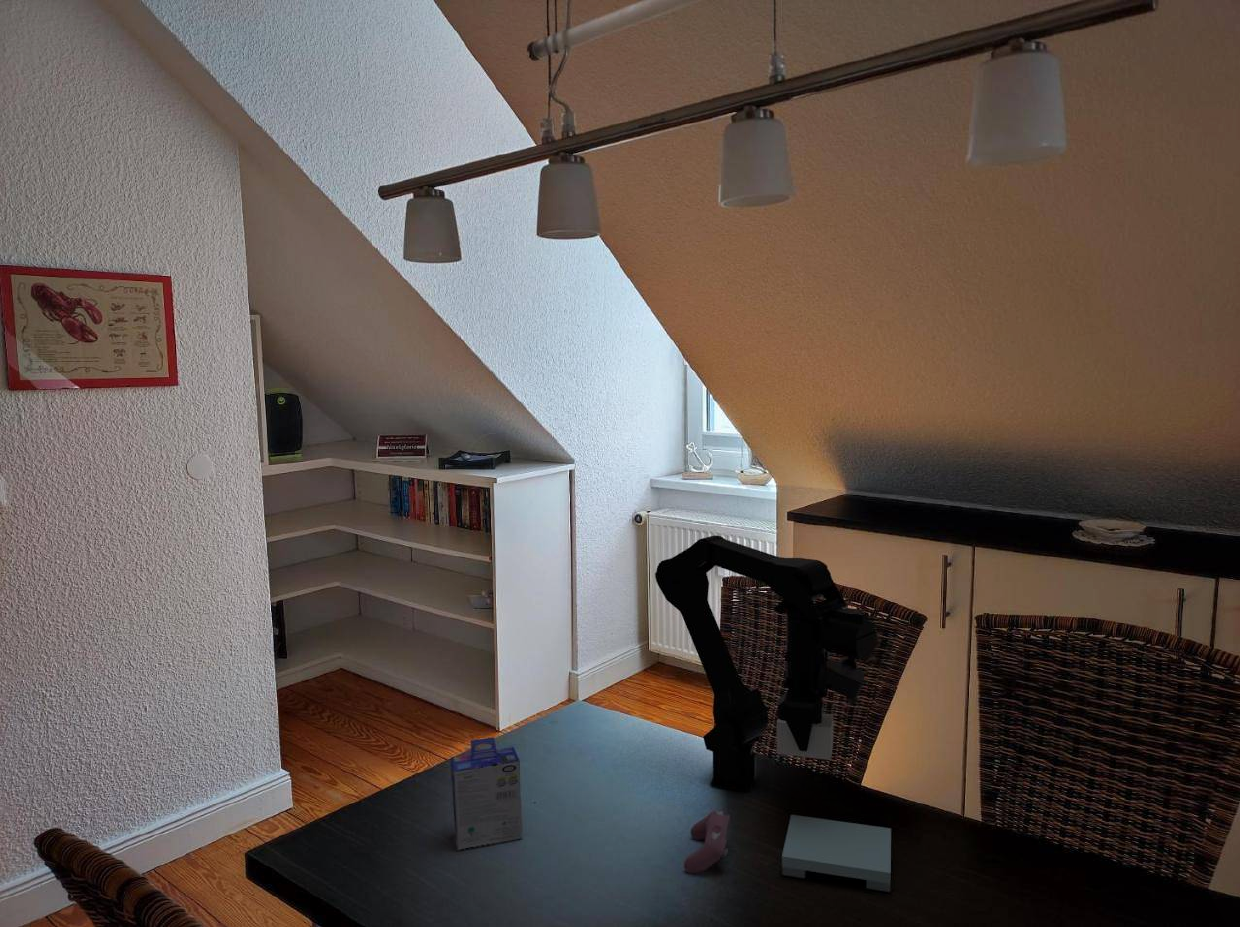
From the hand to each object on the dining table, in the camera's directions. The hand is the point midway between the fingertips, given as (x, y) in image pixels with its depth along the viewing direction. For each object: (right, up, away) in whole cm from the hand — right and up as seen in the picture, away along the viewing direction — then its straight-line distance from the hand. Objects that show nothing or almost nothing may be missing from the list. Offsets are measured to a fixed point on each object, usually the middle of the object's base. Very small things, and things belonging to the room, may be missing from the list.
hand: (804, 743), depth 132 cm
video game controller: (-16, -13, -10) cm, 23 cm away
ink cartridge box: (-48, -13, -4) cm, 50 cm away
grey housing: (0, -1, 0) cm, 1 cm away
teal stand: (+2, -13, -12) cm, 18 cm away
